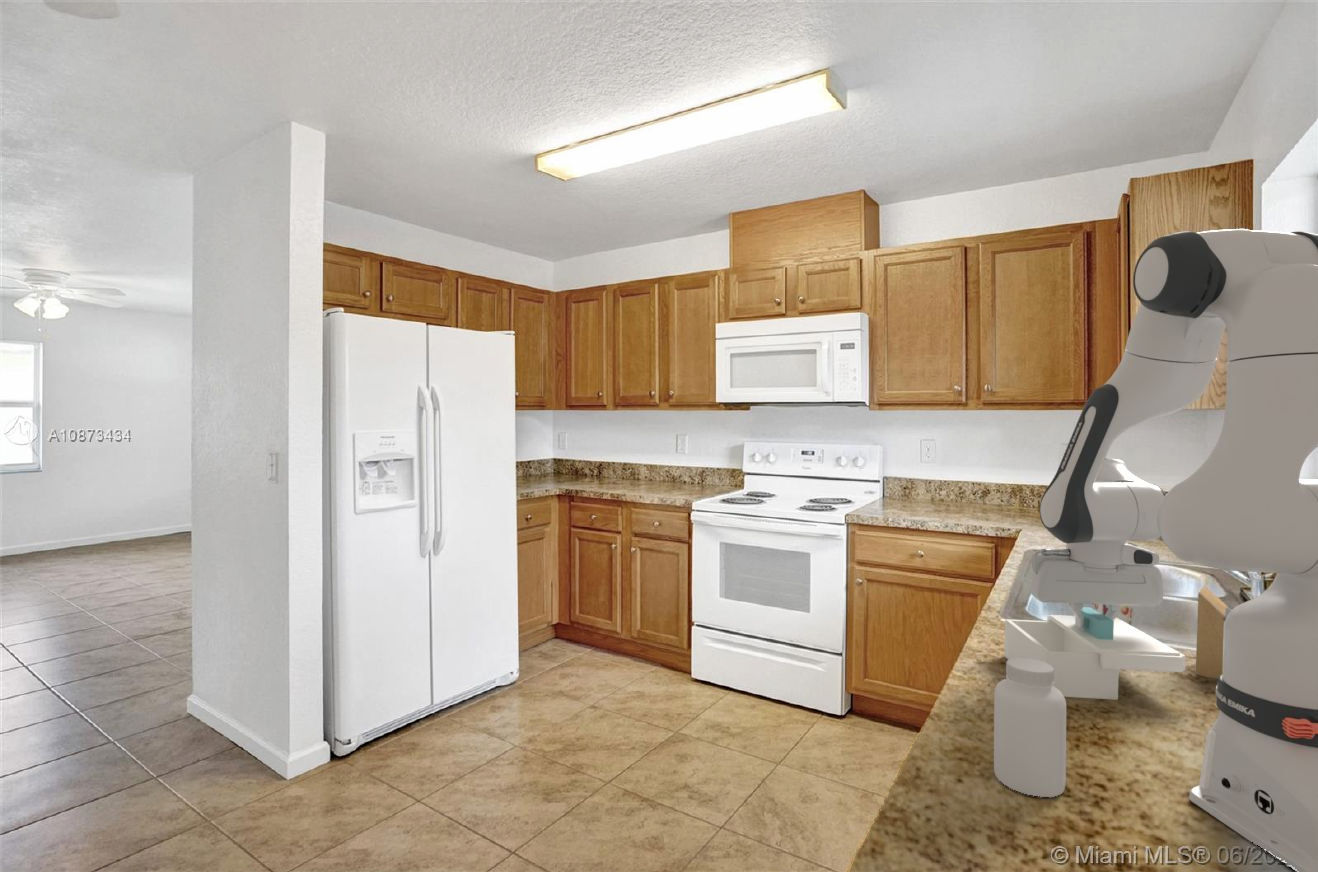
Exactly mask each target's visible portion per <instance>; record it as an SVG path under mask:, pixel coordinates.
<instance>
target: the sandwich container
mask: <svg viewBox="0 0 1318 872" xmlns="http://www.w3.org/2000/svg"><path fill="white" fill-rule="evenodd" d="M1231 611H1232V609H1231V608H1230V607H1228V605H1227V604H1226V603H1225V602H1224V601H1222V600H1221V599H1220V598H1219V596H1218V595H1216V594H1215V593H1214V592H1213V591H1212V590H1211V589H1210V588H1209V587H1207V585H1205V584H1204V585H1202V587H1201V589H1200V590H1199V591H1198V593H1197V618H1196V619H1197V622H1196V623H1197V624H1196V628H1197V629H1196V648H1195V649H1196V651H1195V652H1196V655H1195V675H1198V676H1201V677H1207V678H1210V679H1215V680H1218V677H1219V676H1220V675H1222V673H1223V639H1224V622H1225V620H1226V618H1227V616H1228V614H1229V613H1230V612H1231Z"/></svg>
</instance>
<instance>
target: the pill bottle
mask: <svg viewBox="0 0 1318 872" xmlns="http://www.w3.org/2000/svg"><path fill="white" fill-rule="evenodd" d="M1005 673H1006V674H1005V677H1006V678H1005V679H1002V680H1000V681H999V682H997V684H996V686H995V688H994V694H993V696H994V698H993V705H994V706H993V709H994V710H993V713H994V714H993V771H994V775H995V777H996V779H997V778H998V779H997V780H998V781H999V782H1000V781H1001V782H1002V783H1003V784H1004V786H1005V785H1006V786H1008V787H1009V788H1008V787H1007V788H1008V789H1010V788H1011V789H1010V790H1012V789H1013V790H1012V791H1014V790H1017V791H1019V792H1022V793H1024V794H1023V795H1025V794H1027V795H1026V796H1029V795H1033V796H1032V797H1034V796H1038V797H1037V798H1042V797H1049V798H1055V796H1056V797H1058V795H1059V796H1060V795H1062V794H1063V793H1064V792H1065V789H1066V780H1067V779H1066V776H1067V775H1066V774H1067V773H1066V772H1067V764H1066V763H1067V701H1066V698H1065V697H1064V696H1063V694H1062V693H1061V692H1060V691H1059V690H1058V689H1057V688H1055V687H1054V668H1053V667H1052V666H1051V665H1049V664H1048V663H1045V662H1042V661H1039V660H1035V659H1029V658H1012V659H1009V660H1008V659H1007V660H1006V663H1005ZM1001 782H1000V783H1001ZM1002 783H1001V784H1002ZM1003 784H1002V785H1003ZM1006 786H1005V787H1006ZM1019 792H1018V793H1019ZM1022 793H1021V794H1022ZM1039 796H1040V797H1039Z"/></svg>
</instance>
